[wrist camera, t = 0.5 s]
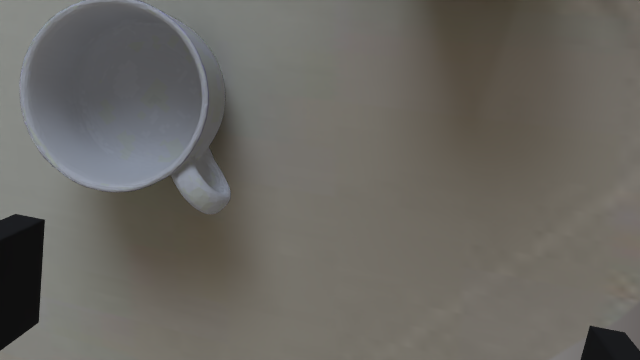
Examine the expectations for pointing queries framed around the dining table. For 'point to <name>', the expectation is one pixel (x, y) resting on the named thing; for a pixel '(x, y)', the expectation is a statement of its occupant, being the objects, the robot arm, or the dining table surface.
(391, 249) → the dining table surface
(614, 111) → the dining table surface
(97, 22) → the teacup
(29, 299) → the robot arm
